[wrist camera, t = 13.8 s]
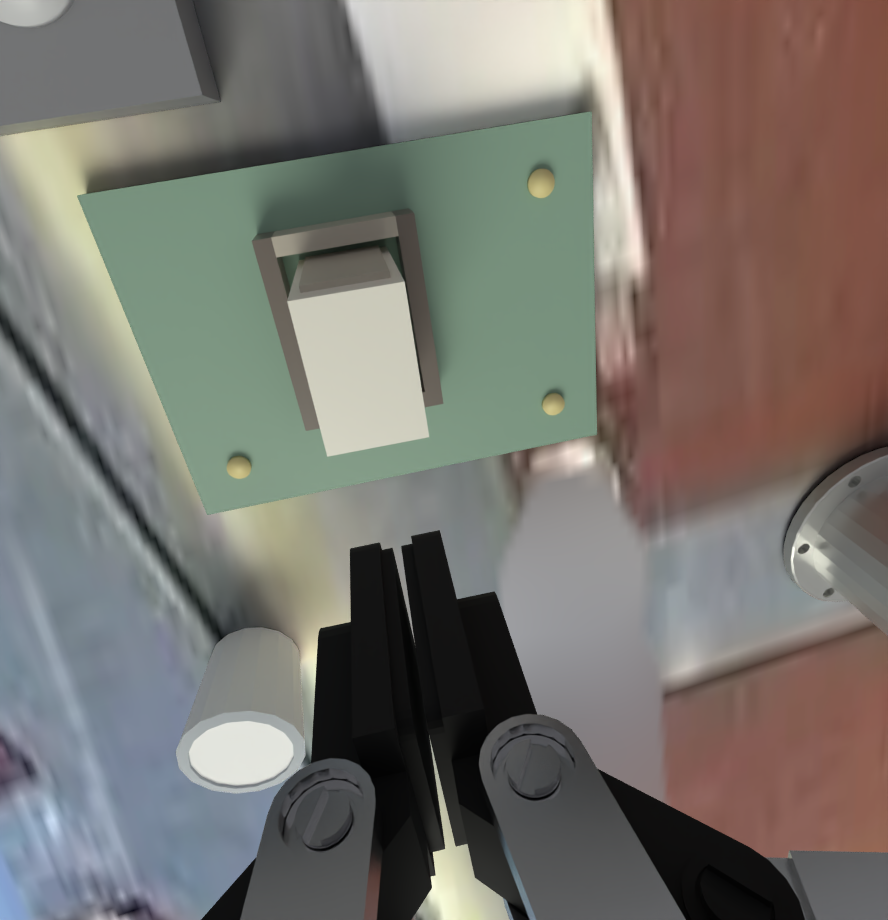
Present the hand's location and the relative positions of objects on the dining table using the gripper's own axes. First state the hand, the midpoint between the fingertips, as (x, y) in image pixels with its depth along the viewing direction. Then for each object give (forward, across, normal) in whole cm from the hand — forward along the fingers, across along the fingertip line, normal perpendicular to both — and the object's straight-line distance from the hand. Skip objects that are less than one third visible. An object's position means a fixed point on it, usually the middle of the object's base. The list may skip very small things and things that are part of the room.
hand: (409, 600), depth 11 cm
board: (+21, 0, +1) cm, 21 cm away
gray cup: (+21, +12, +20) cm, 32 cm away
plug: (+20, +1, 0) cm, 20 cm away
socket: (+21, +1, 0) cm, 21 cm away
